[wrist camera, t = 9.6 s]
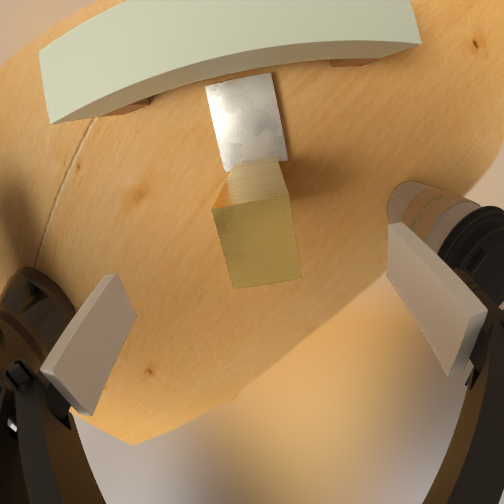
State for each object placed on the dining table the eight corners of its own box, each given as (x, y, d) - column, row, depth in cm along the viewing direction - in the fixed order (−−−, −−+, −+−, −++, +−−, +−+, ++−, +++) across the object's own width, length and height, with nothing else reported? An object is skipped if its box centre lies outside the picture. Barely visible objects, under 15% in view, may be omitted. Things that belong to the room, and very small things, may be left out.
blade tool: (236, 211, 30) (217, 291, 17) (207, 87, 24) (156, 66, 11) (294, 201, 29) (318, 275, 16) (270, 74, 23) (278, 37, 11)
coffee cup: (380, 158, 26) (469, 207, 13) (449, 173, 26) (541, 224, 13) (365, 242, 31) (423, 333, 17) (431, 247, 31) (500, 324, 17)
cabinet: (123, 114, 25) (50, 124, 14) (111, 56, 22) (37, 40, 11) (361, 65, 22) (422, 44, 11) (345, 5, 19) (391, -45, 8)
